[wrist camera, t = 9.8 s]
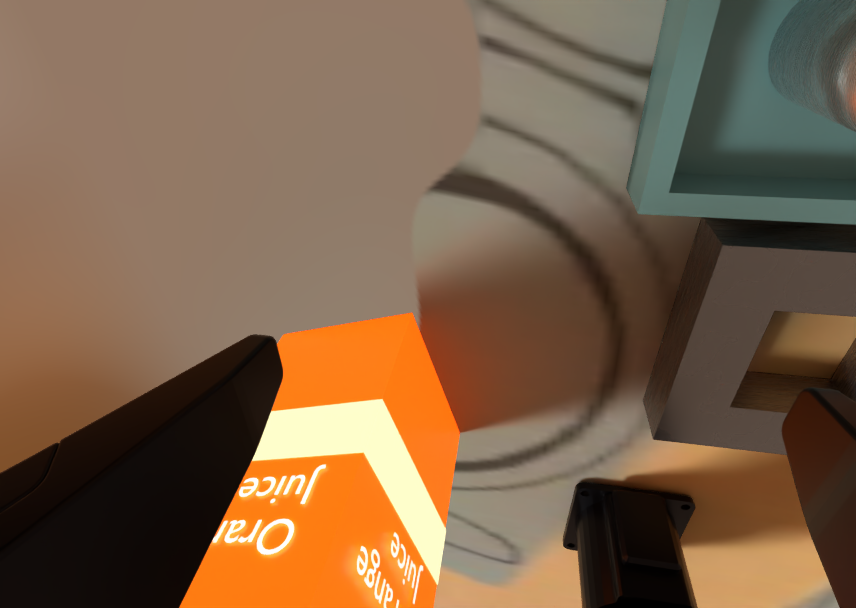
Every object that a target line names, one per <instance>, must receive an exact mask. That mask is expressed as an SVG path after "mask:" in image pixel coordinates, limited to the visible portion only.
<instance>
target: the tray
mask: <svg viewBox="0 0 856 608" xmlns="http://www.w3.org/2000/svg"><path fill="white" fill-rule="evenodd" d="M799 1H800V0H667V3H666V8H665V13H664V17H663V22H662V26H661V31H660V36H659V40H658V45H657V49H656V54H655V59H654V63H653V68H652V72H651V77H650V82H649V86H648V91H647V95H646V100H645V104H644V109H643V114H642V118H641V123H640V127H639V132H638V137H637V141H636V146H635V150H634V155H633V160H632V164H631V169H630V173H629V178H628V183H627V187H626V188H627V190H628V193H629V195H630V197H631V199H632V202H633V204H634V206H635V208H636V210H637V213H638V214H647V215H668V216H688V217H709V218H729V219H750V220H770V221H791V222H811V223H832V224H853V225H856V132H854V131H852V130H850V129H848V128H846V127H844V126H842V125H839V124H837V123H835V122H833V121H831V120H829V119H827V118H825V117H822V116H820V115H818V114H816V113H814V112H812V111H810V110H808V109H805V108H803V107H801V106H799V105H797V104H795V103H793V102H790V101H789V100H787V99H785V98H784V97H782V96H781V95H780V94H779V93H778V92H777V91H776V89H775V88H774V86H773V84H772V82H771V80H770V77H769V72H768V56H769V50H770V46H771V43H772V40H773V38H774V35H775V33H776V31H777V29H778V27H779V26H780V24H781V23H782V21H783V19H784V18H785V17H786V15H787V14H788V13H789V12H790V10H791V9H792V8H793V7H794V6H795V5H796V4H797V3H798V2H799Z"/></svg>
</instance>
